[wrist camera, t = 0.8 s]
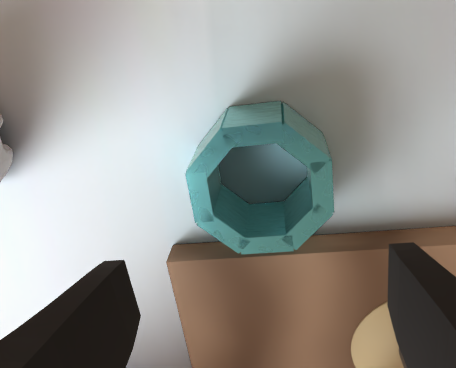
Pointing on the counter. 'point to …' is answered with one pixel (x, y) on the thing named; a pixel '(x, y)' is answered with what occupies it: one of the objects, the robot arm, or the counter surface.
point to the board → (296, 300)
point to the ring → (261, 212)
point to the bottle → (4, 156)
